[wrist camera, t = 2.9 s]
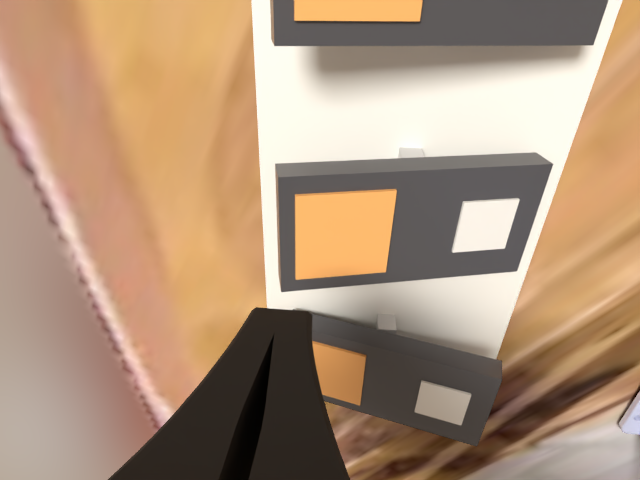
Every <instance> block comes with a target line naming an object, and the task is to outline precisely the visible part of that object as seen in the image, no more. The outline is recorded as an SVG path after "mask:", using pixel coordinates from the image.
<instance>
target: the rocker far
mask: <svg viewBox="0 0 640 480" xmlns="http://www.w3.org/2000/svg"><path fill="white" fill-rule="evenodd" d="M293 310H295V309H293ZM310 314H311V313H310ZM312 315H313V316H312V344H313V351H314V358H315V364H316V369H317V374H318V378H319V383H320V387H321V391H322V395H323V399H324V401H326V402H329V403H333V404H336V405H339V406H343V407H346V408H349V409H353V410H356V411H360V412H363V413H366V414H370V415H373V416H376V417H380V418H383V419H386V420H390V421H393V422H396V423H400V424H403V425H407V426H410V427H413V428H417V429H420V430H423V431H427V432H430V433H433V434H437V435H440V436H443V437H447V438H450V439H454V440H457V441H460V442H464V443H467V444H470V445H474V446H477V445H478V443H479V440H480V437H481V435H482V432H483V429H484V427H485V424H486V421H487V419H488V416H489V414H490V411H491V408H492V406H493V403H494V400H495V398H496V395H497V392H498V390H499V387H500V384H501V382H502V361H500V360H496V359H492V358H488V357H484V356H480V355H476V354H472V353H468V352H464V351H460V350H456V349H452V348H448V347H444V346H440V345H436V344H432V343H428V342H424V341H420V340H416V339H412V338H408V337H404V336H400V335H396V334H392V333H388V332H384V331H380V330H376V329H372V328H367V327H363V326H359V325H355V324H351V323H347V322H343V321H339V320H335V319H331V318H327V317H323V316H319V315H315V314H312Z"/></svg>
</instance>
